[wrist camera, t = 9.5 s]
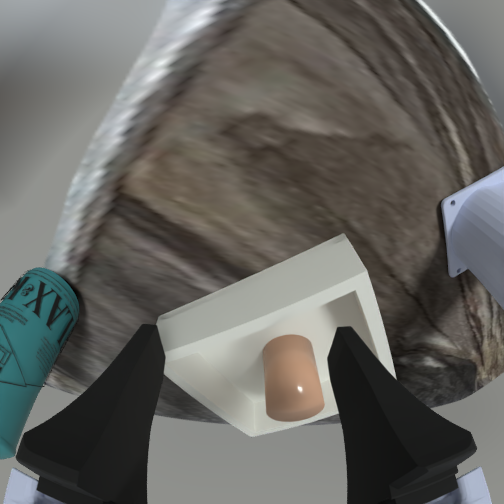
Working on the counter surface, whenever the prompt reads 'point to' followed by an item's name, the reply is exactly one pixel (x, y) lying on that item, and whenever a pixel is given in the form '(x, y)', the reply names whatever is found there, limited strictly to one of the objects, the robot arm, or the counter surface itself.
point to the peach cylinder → (291, 379)
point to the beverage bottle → (30, 345)
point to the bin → (270, 331)
